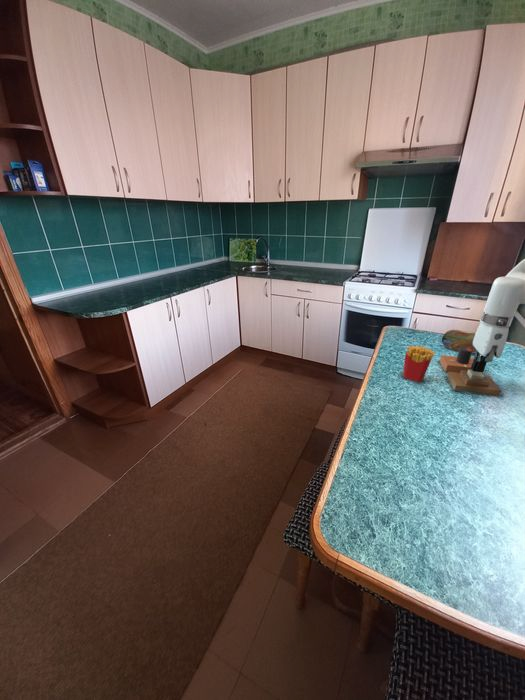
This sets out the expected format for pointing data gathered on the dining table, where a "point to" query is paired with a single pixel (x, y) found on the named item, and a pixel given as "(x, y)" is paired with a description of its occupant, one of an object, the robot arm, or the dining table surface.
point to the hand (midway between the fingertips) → (476, 370)
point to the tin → (458, 340)
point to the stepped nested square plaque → (473, 384)
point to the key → (475, 375)
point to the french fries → (417, 362)
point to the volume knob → (464, 355)
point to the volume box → (454, 364)
